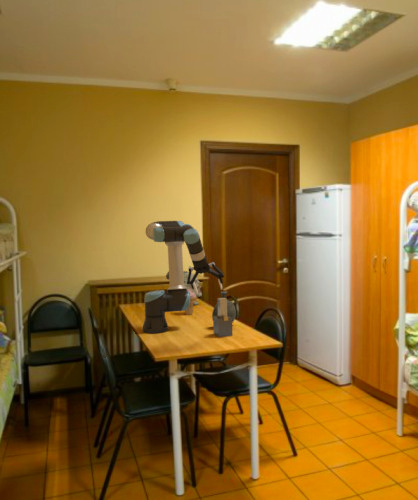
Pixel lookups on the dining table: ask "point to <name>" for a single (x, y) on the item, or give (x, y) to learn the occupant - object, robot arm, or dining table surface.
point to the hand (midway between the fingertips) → (209, 290)
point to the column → (222, 307)
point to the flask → (230, 308)
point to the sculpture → (190, 284)
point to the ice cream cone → (191, 303)
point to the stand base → (222, 326)
